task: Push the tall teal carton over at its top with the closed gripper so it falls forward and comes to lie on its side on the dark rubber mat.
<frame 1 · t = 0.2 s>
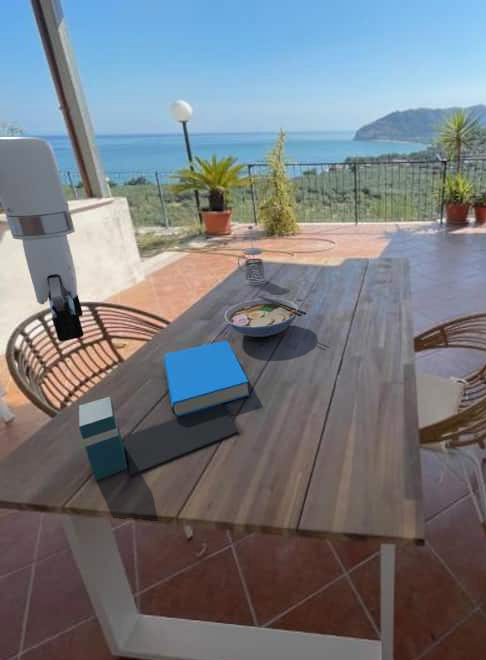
hand: (72, 327, 64), 29 cm above the table, tool pointing down, fingers open, 9 cm apart
mat: (181, 435, 81), on the table
ramen bowl: (263, 332, 126), on the table
book: (205, 381, 100), on the table, touching mat
french press: (254, 282, 173), on the table
carton: (110, 462, 74), on the table
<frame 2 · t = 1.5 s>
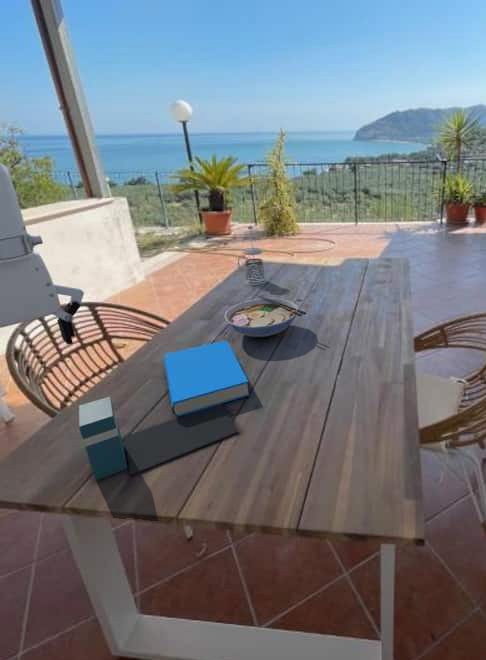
hand: (32, 352, 62), 26 cm above the table, tool pointing down, fingers open, 9 cm apart
nothing on the table moved.
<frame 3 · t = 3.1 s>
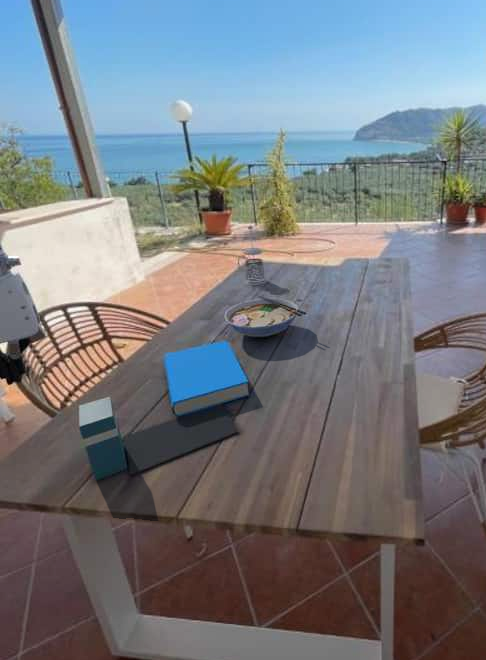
hand: (15, 379, 62), 22 cm above the table, tool pointing down, fingers closed
nothing on the table moved.
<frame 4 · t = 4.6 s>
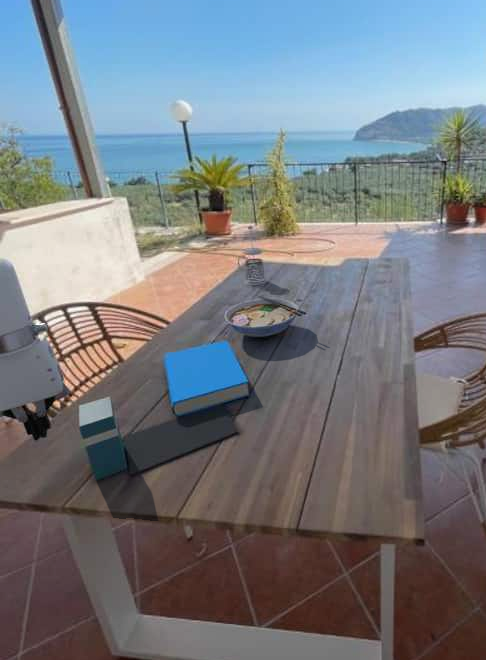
hand: (41, 434, 66), 11 cm above the table, tool pointing down, fingers closed
nothing on the table moved.
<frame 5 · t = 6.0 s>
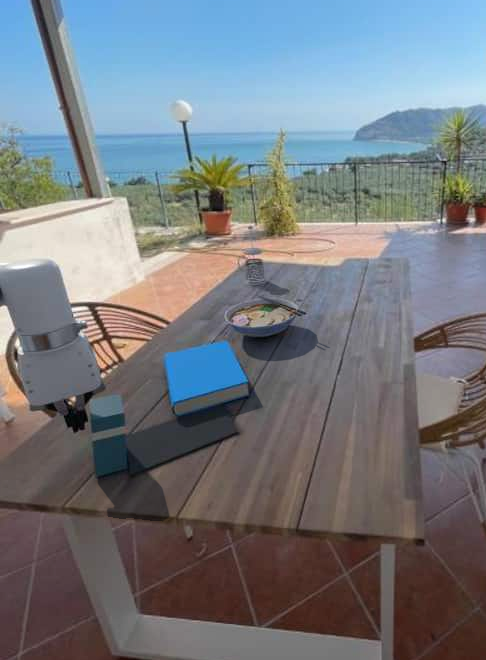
hand: (79, 427, 69), 10 cm above the table, tool pointing down, fingers closed
carton: (110, 461, 74), on the table, tilted 8°, touching gripper
everything else where it was.
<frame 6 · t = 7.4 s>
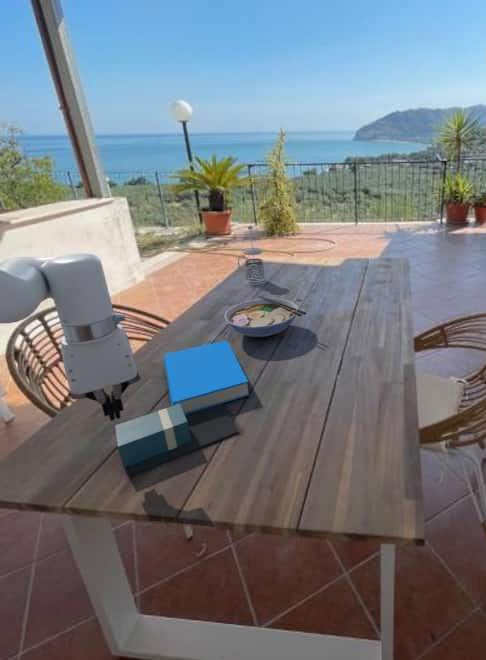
hand: (115, 415, 72), 10 cm above the table, tool pointing down, fingers closed
carton: (119, 446, 74), point 3 cm above the table, tilted 90°, touching mat
everything else where it was.
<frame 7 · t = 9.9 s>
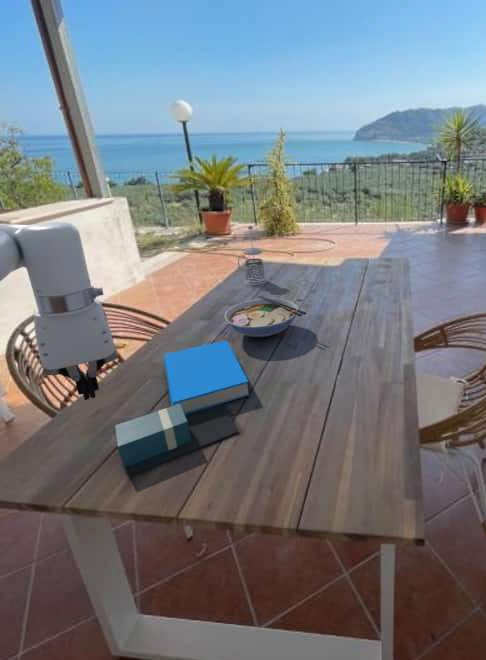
hand: (89, 394, 69), 15 cm above the table, tool pointing down, fingers closed
nothing on the table moved.
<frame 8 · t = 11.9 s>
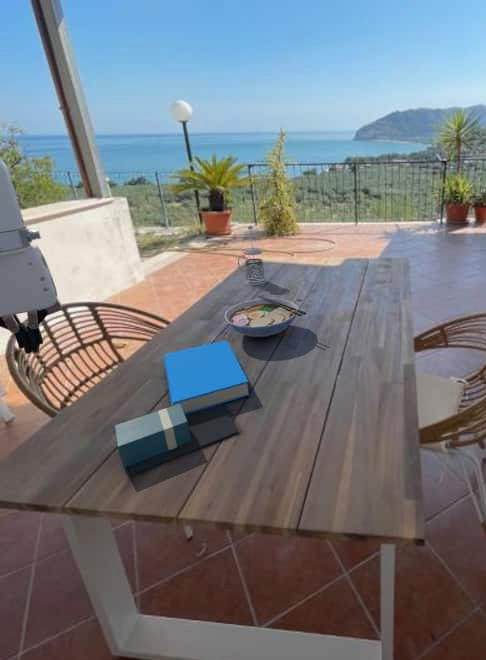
hand: (33, 349, 65), 25 cm above the table, tool pointing down, fingers closed
nothing on the table moved.
at the end: carton tilted 90°; carton touching mat; carton inside the target area (3.0 cm from its centre), point 2.9 cm above the table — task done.
